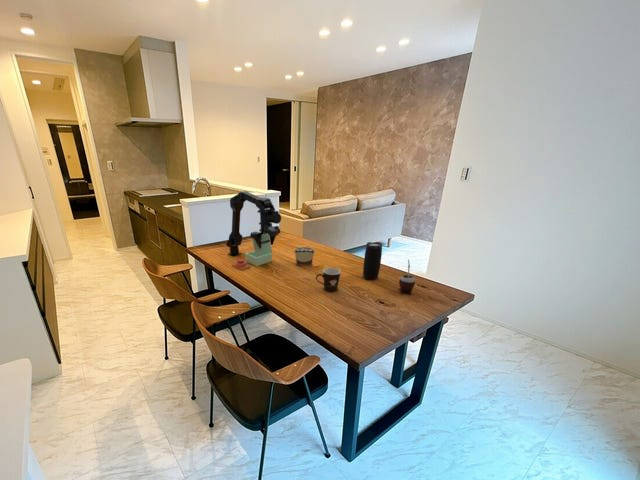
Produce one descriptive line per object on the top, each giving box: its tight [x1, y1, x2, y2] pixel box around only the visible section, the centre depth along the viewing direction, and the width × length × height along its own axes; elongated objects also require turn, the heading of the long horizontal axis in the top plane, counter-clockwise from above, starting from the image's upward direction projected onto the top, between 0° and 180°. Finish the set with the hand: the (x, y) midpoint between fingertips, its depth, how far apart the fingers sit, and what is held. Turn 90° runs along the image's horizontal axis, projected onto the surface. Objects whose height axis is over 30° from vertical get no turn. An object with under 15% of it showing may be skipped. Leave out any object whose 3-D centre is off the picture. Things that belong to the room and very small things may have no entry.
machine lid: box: [251, 234, 273, 257], centre depth 181 cm, size 12×13×5 cm
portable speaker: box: [362, 241, 383, 281], centre depth 160 cm, size 9×9×20 cm
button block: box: [232, 260, 251, 271], centre depth 182 cm, size 10×6×3 cm, turn 41°
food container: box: [293, 246, 315, 267], centre depth 183 cm, size 12×6×10 cm, turn 84°
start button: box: [237, 258, 245, 264], centre depth 181 cm, size 4×4×2 cm
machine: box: [244, 250, 273, 267], centre depth 190 cm, size 12×13×5 cm
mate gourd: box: [398, 259, 416, 295], centre depth 145 cm, size 8×8×15 cm
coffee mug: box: [315, 267, 342, 293], centre depth 150 cm, size 12×9×10 cm
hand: (266, 246), depth 178 cm, fingers open, 9 cm apart
